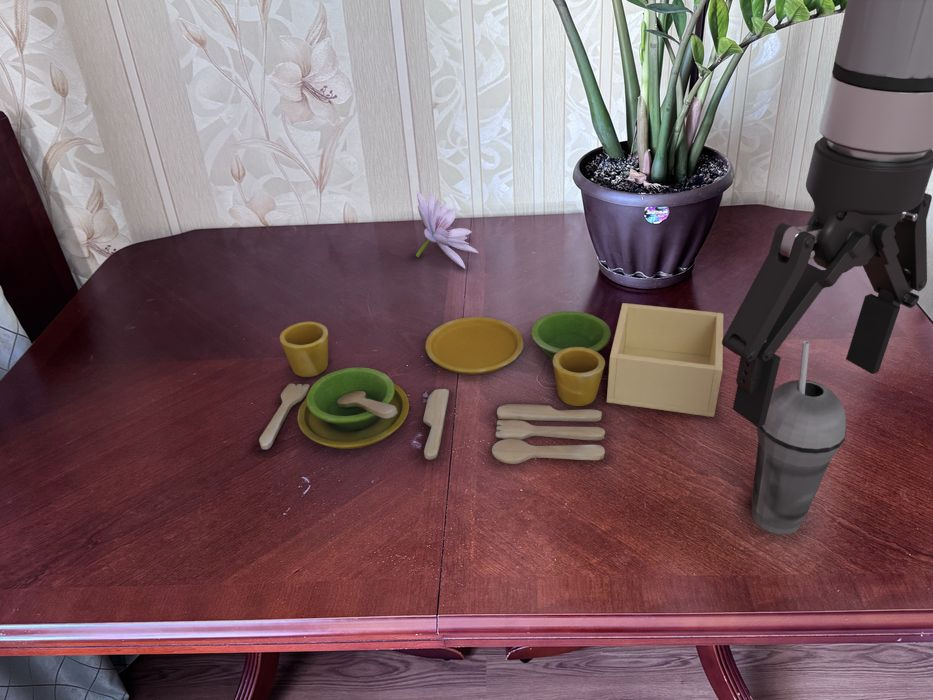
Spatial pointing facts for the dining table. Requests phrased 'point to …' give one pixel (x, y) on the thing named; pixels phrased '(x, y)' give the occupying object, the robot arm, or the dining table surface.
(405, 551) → the dining table surface
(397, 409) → the tableware set
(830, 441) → the beverage cup
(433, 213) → the water lily
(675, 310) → the box
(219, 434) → the dining table surface
